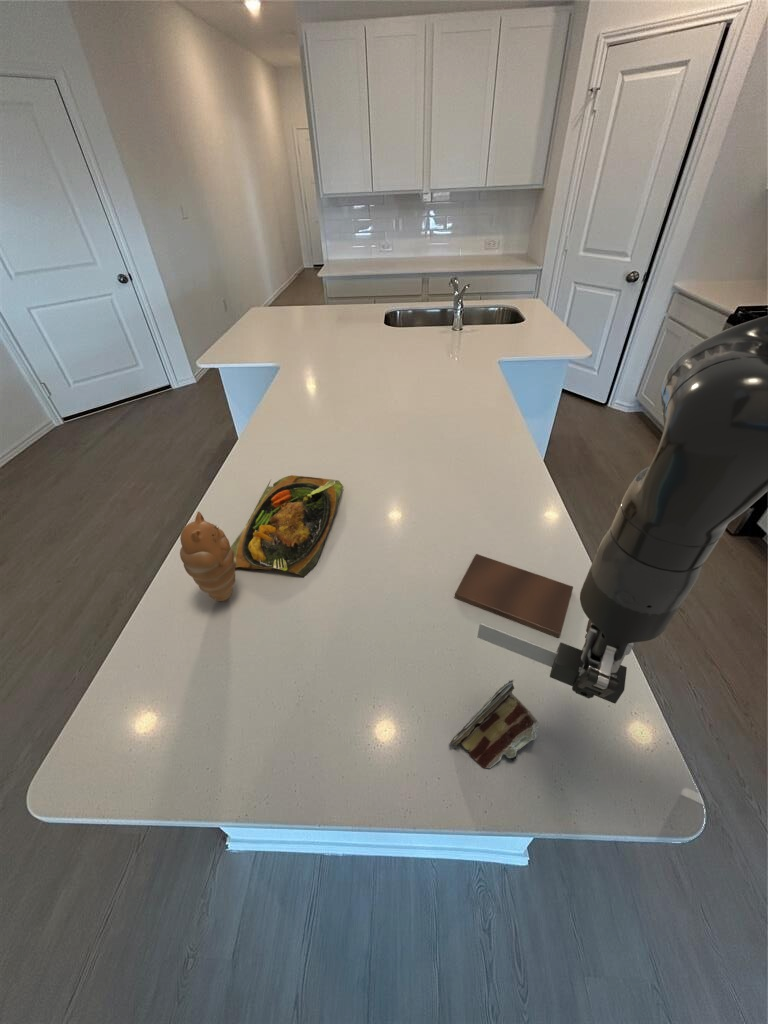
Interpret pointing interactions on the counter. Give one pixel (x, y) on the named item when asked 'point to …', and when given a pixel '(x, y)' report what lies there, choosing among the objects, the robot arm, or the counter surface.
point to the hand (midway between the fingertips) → (584, 677)
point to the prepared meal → (288, 525)
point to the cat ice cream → (208, 558)
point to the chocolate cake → (498, 728)
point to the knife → (549, 657)
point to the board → (516, 594)
